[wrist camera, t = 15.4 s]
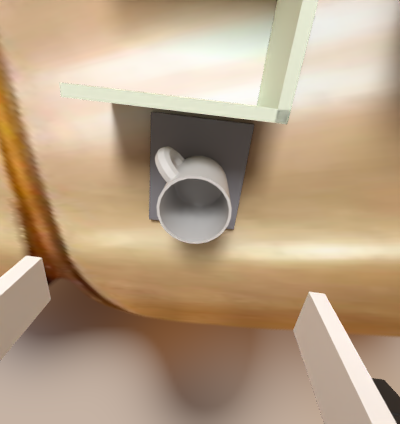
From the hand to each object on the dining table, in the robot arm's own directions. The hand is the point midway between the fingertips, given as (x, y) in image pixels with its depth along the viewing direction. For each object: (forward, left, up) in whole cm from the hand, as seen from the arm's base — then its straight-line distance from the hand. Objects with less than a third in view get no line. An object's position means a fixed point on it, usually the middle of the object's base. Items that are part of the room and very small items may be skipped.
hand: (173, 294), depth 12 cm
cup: (0, -1, -21) cm, 21 cm away
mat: (0, 0, -21) cm, 21 cm away
